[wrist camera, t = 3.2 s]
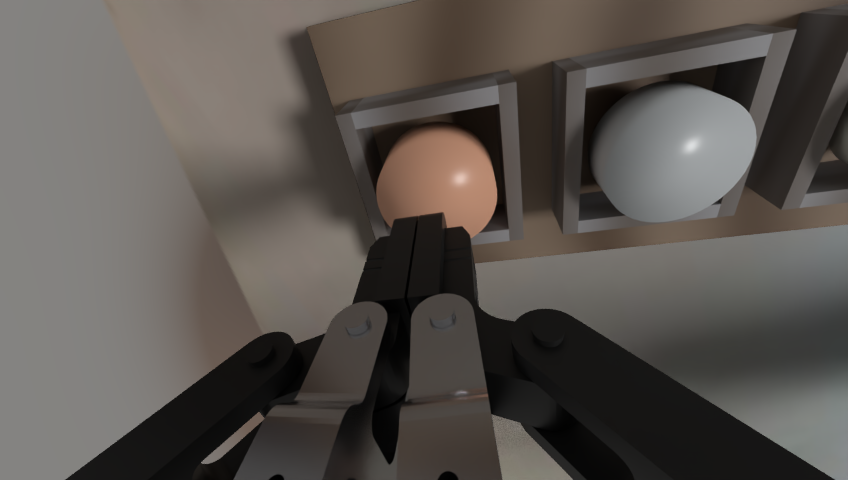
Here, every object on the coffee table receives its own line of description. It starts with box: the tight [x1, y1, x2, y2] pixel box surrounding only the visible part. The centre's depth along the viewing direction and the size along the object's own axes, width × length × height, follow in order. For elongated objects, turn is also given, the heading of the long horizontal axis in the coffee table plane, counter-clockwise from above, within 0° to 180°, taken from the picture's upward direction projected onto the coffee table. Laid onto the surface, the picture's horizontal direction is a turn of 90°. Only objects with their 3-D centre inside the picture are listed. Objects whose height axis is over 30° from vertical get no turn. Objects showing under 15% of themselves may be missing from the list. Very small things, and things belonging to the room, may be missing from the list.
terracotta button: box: [376, 121, 497, 238], centre depth 14 cm, size 4×4×2 cm
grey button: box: [587, 80, 757, 222], centre depth 12 cm, size 4×4×2 cm
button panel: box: [307, 0, 848, 263], centre depth 14 cm, size 24×12×4 cm, turn 101°
